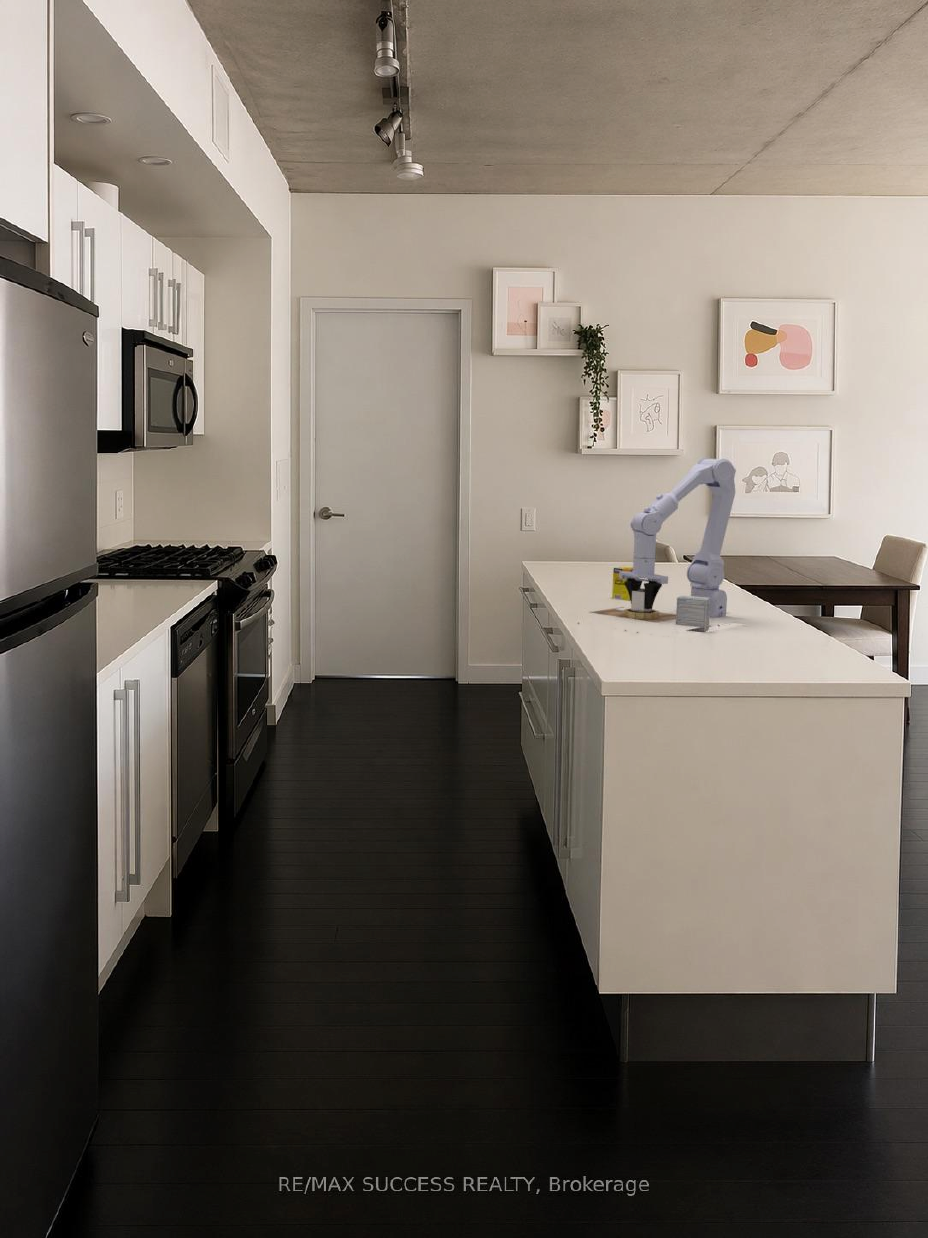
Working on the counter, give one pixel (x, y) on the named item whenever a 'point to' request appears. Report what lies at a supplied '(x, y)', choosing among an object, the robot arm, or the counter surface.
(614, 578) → the supplement box
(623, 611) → the grey pad
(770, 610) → the counter surface
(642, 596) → the steel post
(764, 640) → the counter surface
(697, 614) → the medicine box
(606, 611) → the walnut board
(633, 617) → the brass eye
